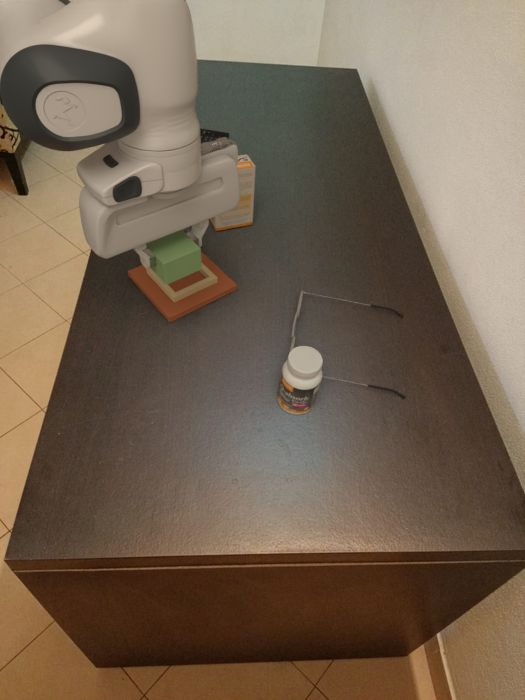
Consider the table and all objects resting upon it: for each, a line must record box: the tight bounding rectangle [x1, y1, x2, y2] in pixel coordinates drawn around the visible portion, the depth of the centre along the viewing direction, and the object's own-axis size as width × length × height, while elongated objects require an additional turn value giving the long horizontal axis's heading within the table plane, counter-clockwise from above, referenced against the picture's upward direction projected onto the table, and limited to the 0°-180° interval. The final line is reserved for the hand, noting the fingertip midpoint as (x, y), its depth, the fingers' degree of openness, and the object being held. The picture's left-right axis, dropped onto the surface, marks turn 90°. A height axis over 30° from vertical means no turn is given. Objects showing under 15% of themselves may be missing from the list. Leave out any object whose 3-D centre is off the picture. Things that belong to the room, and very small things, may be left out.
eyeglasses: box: [289, 290, 407, 400], centre depth 76 cm, size 18×19×4 cm
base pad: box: [127, 251, 238, 323], centre depth 83 cm, size 14×14×2 cm
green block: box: [144, 229, 202, 285], centre depth 62 cm, size 6×6×4 cm
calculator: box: [200, 127, 230, 144], centre depth 116 cm, size 9×12×3 cm
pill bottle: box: [276, 345, 324, 416], centre depth 66 cm, size 6×6×10 cm
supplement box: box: [209, 154, 257, 232], centre depth 92 cm, size 8×5×13 cm, turn 111°
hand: (171, 255), depth 62 cm, fingers closed on green block, 5 cm apart
